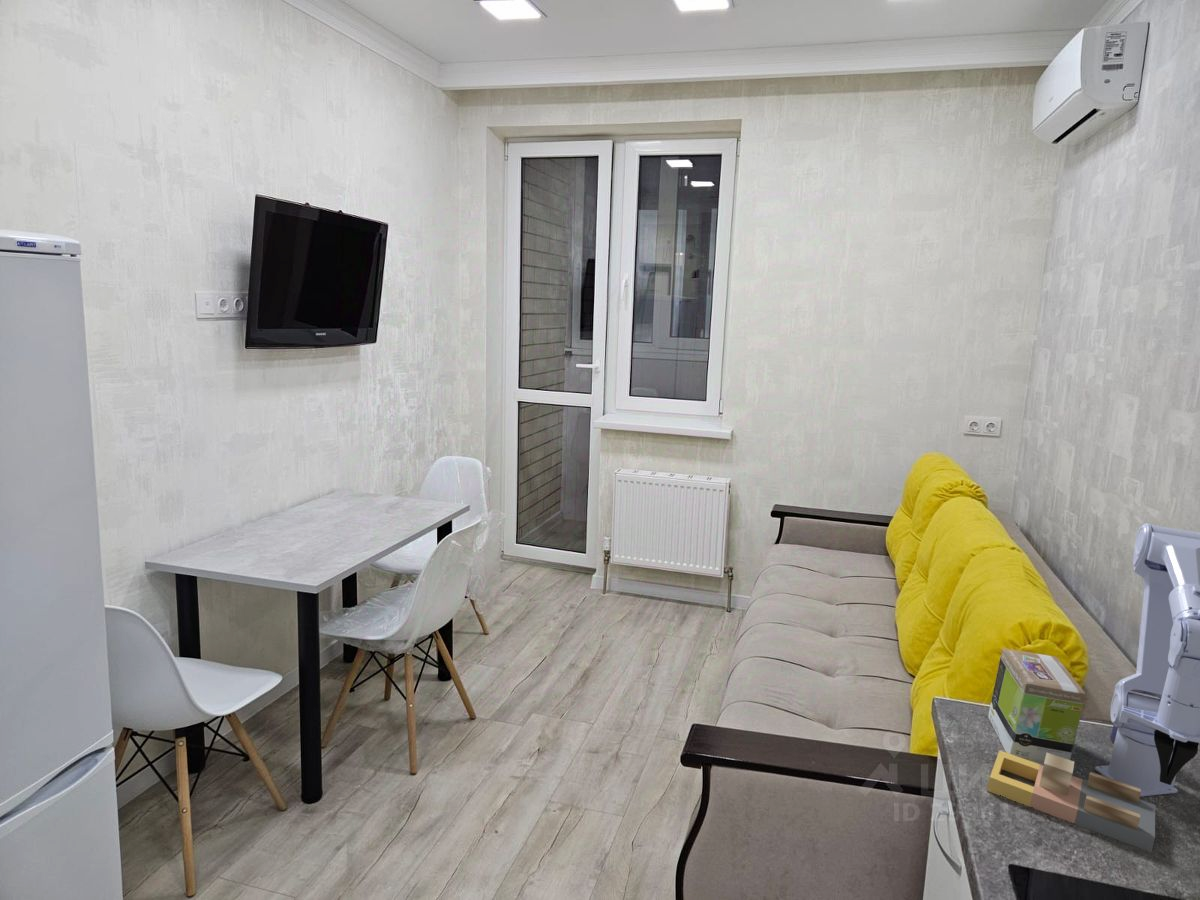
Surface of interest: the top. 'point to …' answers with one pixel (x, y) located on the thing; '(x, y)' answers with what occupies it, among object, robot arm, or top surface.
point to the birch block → (1057, 773)
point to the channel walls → (1109, 809)
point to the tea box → (1035, 706)
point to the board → (1069, 800)
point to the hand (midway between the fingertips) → (1165, 780)
